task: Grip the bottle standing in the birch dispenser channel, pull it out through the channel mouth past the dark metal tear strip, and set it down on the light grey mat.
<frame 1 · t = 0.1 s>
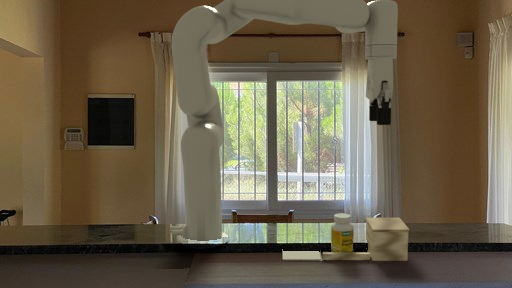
hand: (379, 122, 121), 31 cm above the counter, tool pointing down, fingers open, 9 cm apart
supplement bottle: (342, 254, 118), resting in dispenser
dispenser: (354, 253, 118), on the counter
mat: (300, 253, 118), on the counter
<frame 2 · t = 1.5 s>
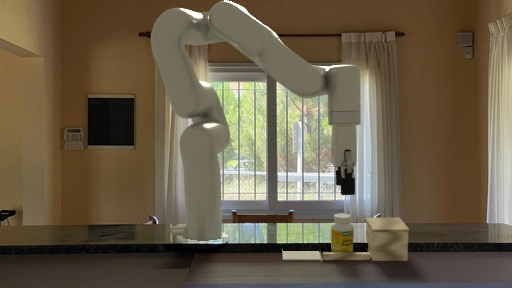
hand: (345, 189, 115), 16 cm above the counter, tool pointing down, fingers open, 9 cm apart
nothing on the counter moved.
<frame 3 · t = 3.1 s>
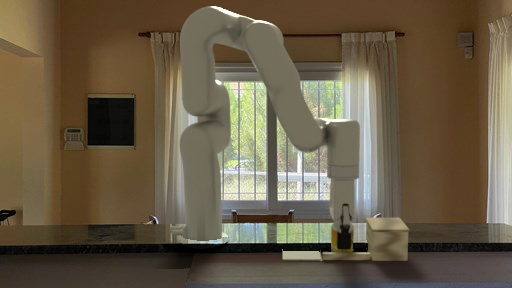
hand: (342, 243, 117), 3 cm above the counter, tool pointing down, fingers closed on supplement bottle, 5 cm apart
supplement bottle: (342, 254, 118), resting in dispenser, touching gripper
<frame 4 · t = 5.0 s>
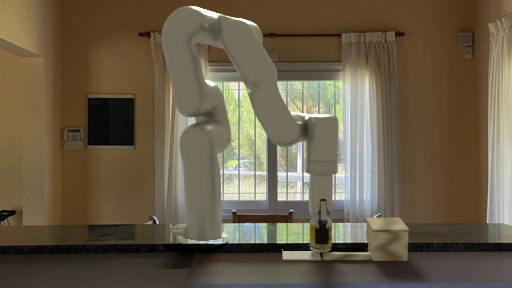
hand: (320, 238, 118), 4 cm above the counter, tool pointing down, fingers closed on supplement bottle, 5 cm apart
supplement bottle: (320, 249, 118), point 1 cm above the counter, touching gripper
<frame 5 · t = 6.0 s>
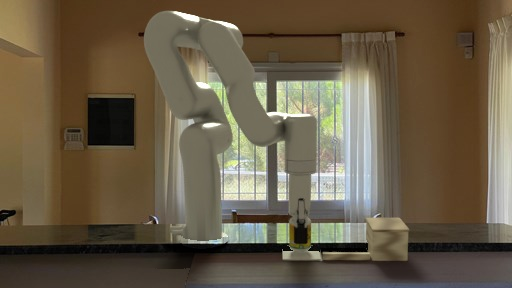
hand: (300, 238, 118), 4 cm above the counter, tool pointing down, fingers closed on supplement bottle, 5 cm apart
supplement bottle: (300, 249, 118), point 1 cm above the counter, touching gripper
when the fingers open (3 cm above the counter, at t = 6.7 s): supplement bottle stays where it is, resting on mat.
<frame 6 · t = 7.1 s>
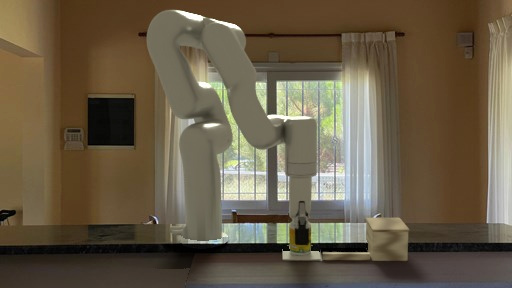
hand: (300, 237, 118), 4 cm above the counter, tool pointing down, fingers open, 9 cm apart
supplement bottle: (300, 252, 118), resting on mat
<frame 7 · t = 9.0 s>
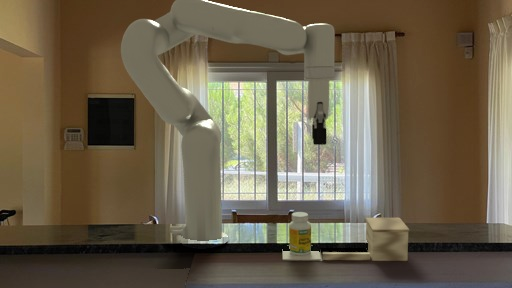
hand: (319, 141, 124), 26 cm above the counter, tool pointing down, fingers open, 9 cm apart
nothing on the counter moved.
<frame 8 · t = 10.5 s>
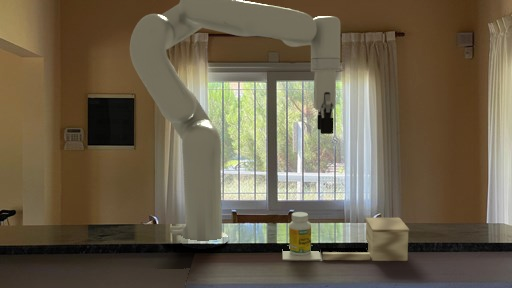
hand: (325, 131, 128), 28 cm above the counter, tool pointing down, fingers open, 9 cm apart
nothing on the counter moved.
at the end: supplement bottle inside the target area (0.2 cm from its centre), resting on mat; supplement bottle tilted 0°; the gripper is holding nothing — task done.
